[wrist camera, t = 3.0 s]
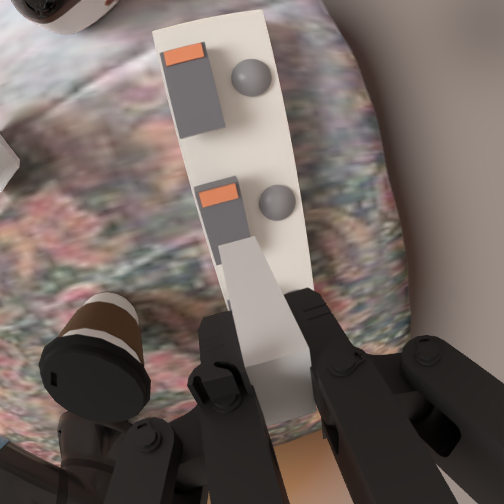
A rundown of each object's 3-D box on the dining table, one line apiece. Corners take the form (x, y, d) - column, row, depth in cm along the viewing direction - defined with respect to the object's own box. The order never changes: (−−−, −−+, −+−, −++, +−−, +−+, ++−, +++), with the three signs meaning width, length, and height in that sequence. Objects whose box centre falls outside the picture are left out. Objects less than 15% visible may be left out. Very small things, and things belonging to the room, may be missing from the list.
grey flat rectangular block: (224, 127, 23) (226, 126, 22) (181, 139, 23) (179, 138, 21) (204, 46, 21) (204, 40, 19) (161, 57, 20) (159, 52, 19)
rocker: (251, 247, 29) (255, 256, 28) (214, 257, 28) (216, 266, 27) (235, 175, 25) (238, 181, 23) (193, 186, 24) (194, 193, 23)
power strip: (313, 361, 43) (324, 382, 39) (252, 379, 42) (259, 402, 39) (253, 21, 24) (263, 8, 20) (156, 41, 23) (151, 30, 19)
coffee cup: (64, 332, 34) (37, 405, 23) (75, 259, 30) (35, 328, 20) (144, 358, 37) (138, 435, 27) (168, 290, 34) (164, 370, 23)
